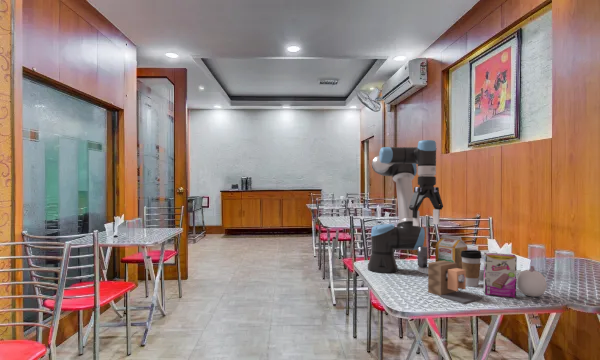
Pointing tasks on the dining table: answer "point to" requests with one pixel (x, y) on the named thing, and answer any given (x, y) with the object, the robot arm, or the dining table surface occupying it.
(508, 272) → the candy bar box
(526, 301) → the dining table surface
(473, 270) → the coffee cup
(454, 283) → the spacer
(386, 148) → the robot arm
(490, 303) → the dining table surface
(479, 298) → the mat
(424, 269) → the shaft
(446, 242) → the milk carton
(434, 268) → the brown notched block
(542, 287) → the ornament
